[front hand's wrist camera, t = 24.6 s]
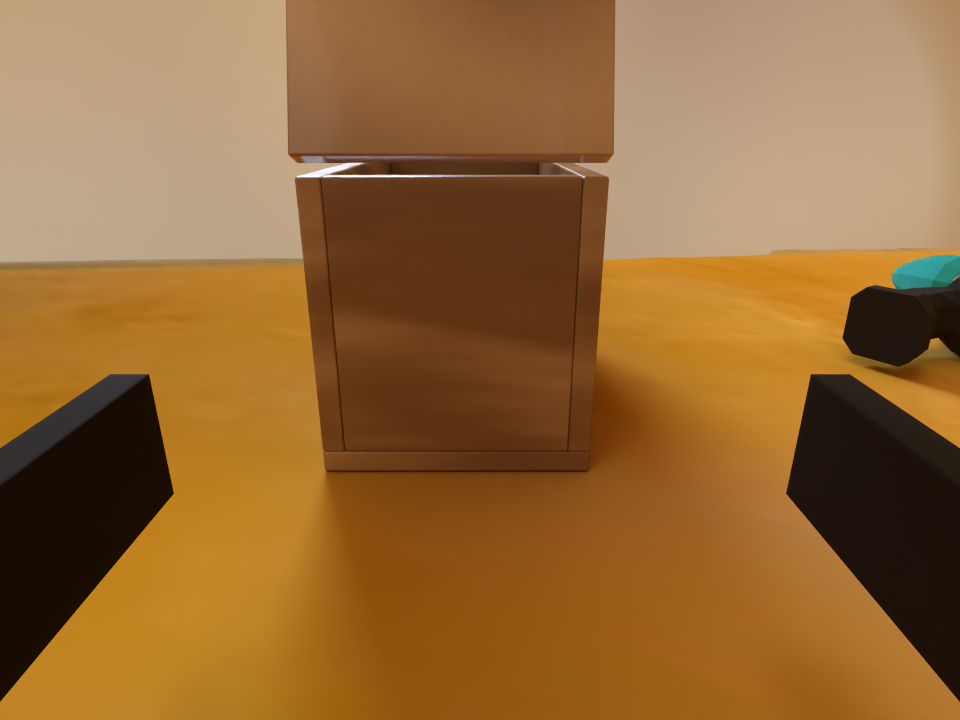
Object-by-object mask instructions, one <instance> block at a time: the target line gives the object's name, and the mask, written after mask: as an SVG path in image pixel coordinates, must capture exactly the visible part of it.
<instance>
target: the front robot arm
mask: <svg viewBox="0 0 960 720" xmlns="http://www.w3.org/2000/svg"><path fill="white" fill-rule="evenodd" d="M173 494H174V492H173V488H172V483H171V478H170V473H169V468H168V464H167V459H166V454H165V449H164V444H163V440H162V435H161V430H160V425H159V420H158V416H157V411H156V406H155V401H154V396H153V392H152V387H151V382H150V377H149V374H110V375H109V376H107V377H106V378H104V379H103V380H101V381H100V382H98V383H97V384H95V385H94V386H92V387H91V388H89V389H88V390H86V391H85V392H83V393H82V394H80V395H79V396H77V397H76V398H74V399H73V400H71V401H70V402H68V403H67V404H65V405H64V406H63V407H61V408H60V409H58V410H57V411H55V412H54V413H52V414H51V415H49V416H48V417H46V418H45V419H43V420H42V421H40V422H39V423H37V424H36V425H34V426H33V427H31V428H30V429H28V430H27V431H25V432H24V433H22V434H21V435H19V436H18V437H16V438H15V439H13V440H12V441H10V442H9V443H7V444H6V445H4V446H3V447H1V448H0V701H1V700H2V699H3V698H4V696H5V695H6V694H7V693H8V692H9V690H10V689H11V688H12V687H13V686H14V685H15V683H16V682H17V681H18V680H19V679H20V677H21V676H22V675H23V674H24V673H25V671H26V670H27V669H28V668H29V667H30V665H31V664H32V663H33V662H34V661H35V659H36V658H37V657H38V656H39V655H40V653H41V652H42V651H43V650H44V649H45V647H46V646H47V645H48V644H49V643H50V641H51V640H52V639H53V638H54V637H55V635H56V634H57V633H58V632H59V631H60V629H61V628H62V627H63V626H64V625H65V623H66V622H67V621H68V620H69V619H70V617H71V616H72V615H73V614H74V613H75V611H76V610H77V609H78V608H79V607H80V605H81V604H82V603H83V602H84V601H85V599H86V598H87V597H88V596H89V595H90V593H91V592H92V591H93V590H94V589H95V587H96V586H97V585H98V584H99V583H100V581H101V580H102V579H103V578H104V577H105V575H106V574H107V573H108V572H109V571H110V569H111V568H112V567H113V566H114V565H115V563H116V562H117V561H118V560H119V559H120V557H121V556H122V555H123V554H124V553H125V551H126V550H127V549H128V548H129V547H130V545H131V544H132V543H133V542H134V541H135V539H136V538H137V537H138V536H139V535H140V533H141V532H142V531H143V530H144V529H145V527H146V526H147V525H148V524H149V523H150V521H151V520H152V519H153V518H154V517H155V515H156V514H157V513H158V512H159V511H160V509H161V508H162V507H163V506H164V505H165V503H166V502H167V501H168V500H169V499H170V497H171V496H172V495H173ZM786 494H787V495H788V496H789V497H790V499H791V500H792V501H793V502H794V503H795V505H796V506H797V507H798V508H799V509H800V511H801V512H802V513H803V514H804V515H805V517H806V518H807V519H808V520H809V521H810V523H811V524H812V525H813V526H814V527H815V529H816V530H817V531H818V532H819V533H820V535H821V536H822V537H823V538H824V539H825V541H826V542H827V543H828V544H829V545H830V547H831V548H832V549H833V550H834V551H835V553H836V554H837V555H838V556H839V557H840V559H841V560H842V561H843V562H844V563H845V565H846V566H847V567H848V568H849V569H850V571H851V572H852V573H853V574H854V575H855V577H856V578H857V579H858V580H859V581H860V583H861V584H862V585H863V586H864V587H865V589H866V590H867V591H868V592H869V593H870V595H871V596H872V597H873V598H874V599H875V601H876V602H877V603H878V604H879V605H880V607H881V608H882V609H883V610H884V611H885V613H886V614H887V615H888V616H889V617H890V619H891V620H892V621H893V622H894V623H895V625H896V626H897V627H898V628H899V629H900V631H901V632H902V633H903V634H904V635H905V637H906V638H907V639H908V640H909V641H910V643H911V644H912V645H913V646H914V647H915V649H916V650H917V651H918V652H919V653H920V655H921V656H922V657H923V658H924V659H925V661H926V662H927V663H928V664H929V665H930V667H931V668H932V669H933V670H934V671H935V673H936V674H937V675H938V676H939V677H940V679H941V680H942V681H943V682H944V683H945V684H946V686H947V687H948V688H949V689H950V690H951V692H952V693H953V694H954V695H955V696H956V698H957V699H958V700H959V701H960V448H959V447H957V446H956V445H954V444H953V443H951V442H950V441H948V440H947V439H945V438H944V437H942V436H941V435H939V434H938V433H936V432H935V431H933V430H932V429H930V428H929V427H927V426H926V425H924V424H923V423H921V422H920V421H918V420H917V419H915V418H914V417H912V416H911V415H909V414H908V413H906V412H905V411H903V410H902V409H900V408H899V407H897V406H896V405H895V404H893V403H892V402H890V401H889V400H887V399H886V398H884V397H883V396H881V395H880V394H878V393H877V392H875V391H874V390H872V389H871V388H869V387H868V386H866V385H865V384H863V383H862V382H860V381H859V380H857V379H856V378H854V377H853V376H851V375H850V374H811V377H810V382H809V387H808V392H807V396H806V401H805V406H804V411H803V416H802V420H801V425H800V430H799V435H798V440H797V444H796V449H795V454H794V459H793V464H792V468H791V473H790V478H789V483H788V488H787V493H786Z"/></svg>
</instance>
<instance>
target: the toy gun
mask: <svg viewBox="0 0 960 720" xmlns="http://www.w3.org/2000/svg"><path fill="white" fill-rule="evenodd" d="M892 281H893V284H894V285H895V287H896V288H897V289H893V288H887V287H882V286H876V285H874V286H870V287H867V288H865V289H863V290H862V291H860V292H859V293H857V294H855V295H854V296H852V297H851V301H850V306H849V310H848V315H847V320H846V324H845V329H844V334H843V340H844V341H845V343H846V345H847V346H848V348H849V349H850V351H851V352H852V354H855V355H859V356H862V357H866V358H869V359H873V360H877V361H880V362H884V363H887V364H891V365H894V366H898V367H899V366H902V365H904V364H907V363H909V362H911V361H912V360H913V359H915V358H917V357H918V356H919V355H921V354H922V353H923V352H924V351H926V350H927V349H928V347H929V343H930V339H934V338H939V339H940V340H941V341H942V342H943V343H944V344H945V345H946V346H947V347H948V348H949V349H950V350H951V351H952V352H955V353H958V354H960V256H955V255H938V256H932V257H927V258H922V259H918V260H914V261H912V262H910V263H907V264H905V265H903V266H900V267H898V268H897V269H896V270H895V271H894V272H893V275H892Z"/></svg>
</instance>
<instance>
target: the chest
mask: <svg viewBox="0 0 960 720" xmlns="http://www.w3.org/2000/svg"><path fill="white" fill-rule="evenodd" d="M295 184H296V194H297V203H298V213H299V223H300V233H301V242H302V252H303V261H304V271H305V281H306V290H307V300H308V310H309V319H310V329H311V339H312V348H313V358H314V367H315V377H316V387H317V396H318V406H319V416H320V425H321V435H322V445H323V450H324V452H323V455H324V465H325V470H327V471H459V470H588V467H589V449H590V437H591V423H592V409H593V395H594V381H595V367H596V353H597V339H598V325H599V311H600V297H601V283H602V269H603V255H604V241H605V227H606V213H607V199H608V185H609V178H608V177H606V176H604V175H601V174H599V173H596V172H594V171H591V170H589V169H586V168H583V167H581V166H578V165H576V164H573V163H346V164H342V165H339V166H335V167H331V168H327V169H323V170H320V171H316V172H312V173H309V174H305V175H301V176H298V177H296V178H295Z"/></svg>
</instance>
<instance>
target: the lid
mask: <svg viewBox="0 0 960 720" xmlns="http://www.w3.org/2000/svg"><path fill="white" fill-rule="evenodd" d="M286 40H287V103H288V154H289V156H290V157H291V158H293V159H294V160H295V161H296V162H297V163H606V162H608V161H609V160H610V158H611V157H612V156H613V154H614V70H615V0H286Z"/></svg>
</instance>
